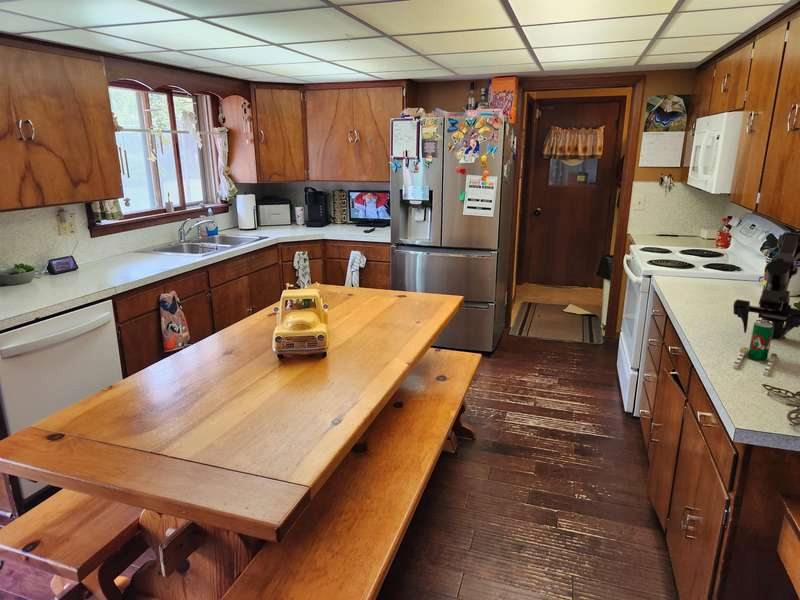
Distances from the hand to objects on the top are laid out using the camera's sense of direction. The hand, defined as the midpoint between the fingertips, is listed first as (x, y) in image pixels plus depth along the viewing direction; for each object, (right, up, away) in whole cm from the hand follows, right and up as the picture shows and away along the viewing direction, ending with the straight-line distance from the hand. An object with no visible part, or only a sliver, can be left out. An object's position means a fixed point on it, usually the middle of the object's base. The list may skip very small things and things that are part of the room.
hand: (762, 335), depth 162 cm
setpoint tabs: (-1, -6, +1) cm, 6 cm away
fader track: (-3, -8, -2) cm, 9 cm away
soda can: (-1, -7, +1) cm, 8 cm away
